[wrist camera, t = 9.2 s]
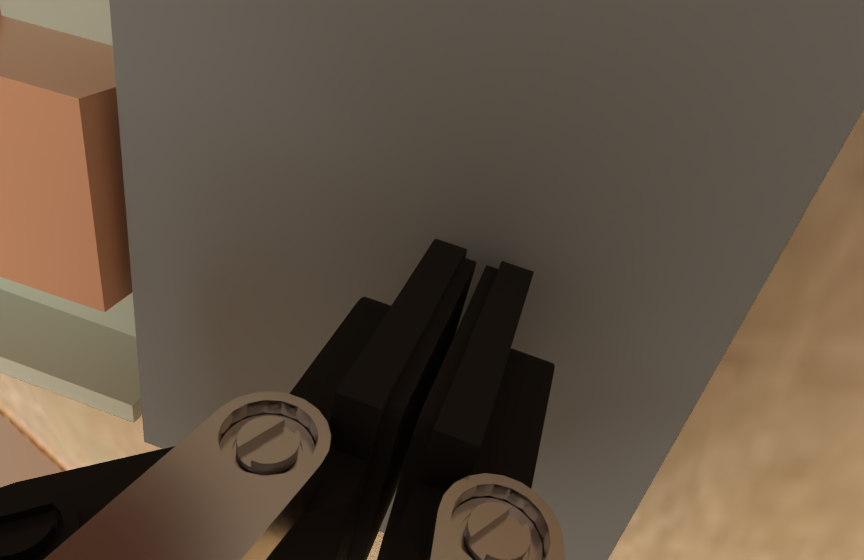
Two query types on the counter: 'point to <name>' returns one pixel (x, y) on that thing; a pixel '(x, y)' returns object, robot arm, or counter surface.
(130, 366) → the sage bin
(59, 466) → the counter surface
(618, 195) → the slate board
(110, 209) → the tile
